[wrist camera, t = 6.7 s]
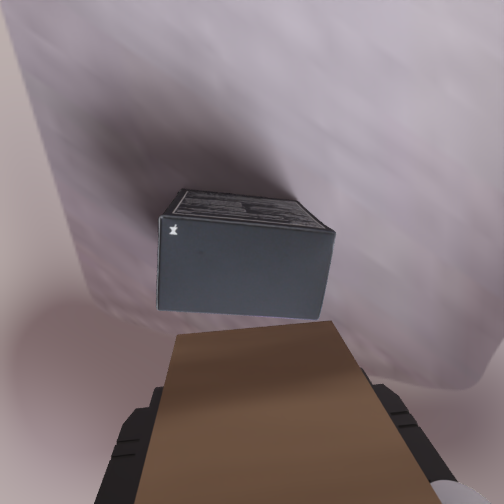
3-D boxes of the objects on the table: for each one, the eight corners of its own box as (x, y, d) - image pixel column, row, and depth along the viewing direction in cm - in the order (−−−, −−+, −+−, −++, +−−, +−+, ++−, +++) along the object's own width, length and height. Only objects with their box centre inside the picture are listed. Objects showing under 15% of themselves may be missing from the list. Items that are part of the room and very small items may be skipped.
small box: (175, 260, 31) (151, 316, 21) (178, 187, 29) (154, 210, 19) (290, 269, 32) (320, 326, 22) (301, 199, 30) (339, 227, 20)
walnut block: (177, 334, 10) (109, 601, 4) (331, 320, 10) (472, 553, 4) (194, 455, 11) (162, 782, 5) (329, 440, 11) (435, 738, 6)
